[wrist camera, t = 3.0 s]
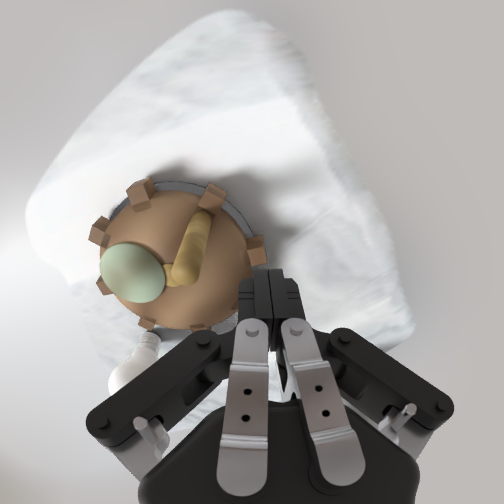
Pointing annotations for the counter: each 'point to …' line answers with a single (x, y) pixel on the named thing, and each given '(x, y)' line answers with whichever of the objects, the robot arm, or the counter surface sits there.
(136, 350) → the lightbulb
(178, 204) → the sprocket
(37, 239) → the counter surface
